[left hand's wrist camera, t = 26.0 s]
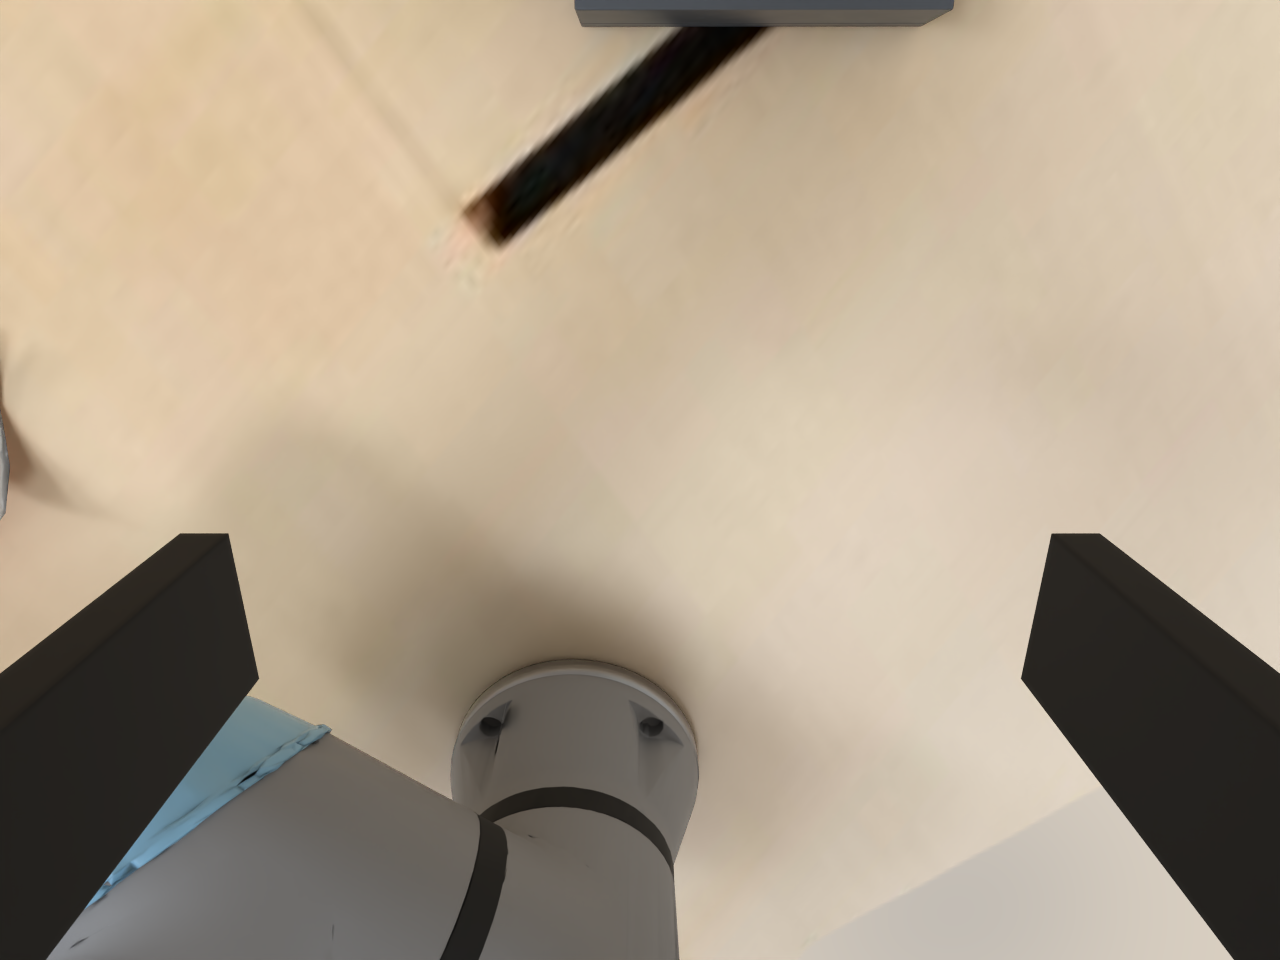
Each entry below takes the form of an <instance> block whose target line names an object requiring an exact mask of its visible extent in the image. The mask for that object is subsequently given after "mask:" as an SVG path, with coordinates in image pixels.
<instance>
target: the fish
mask: <svg viewBox="0 0 1280 960" xmlns="http://www.w3.org/2000/svg"><path fill="white" fill-rule="evenodd" d="M9 470H10V465H9V458H8V452H7V445H6V439H5V433H4V427H3V422H2V416H1V411H0V520H1V518H2V517H3V516H4V514H5V512H6V501H7V491H8V481H9Z"/></svg>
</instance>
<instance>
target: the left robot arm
mask: <svg viewBox="0 0 1280 960" xmlns="http://www.w3.org/2000/svg"><path fill="white" fill-rule="evenodd" d="M258 679H259V676H258V672H257V667H256V662H255V657H254V653H253V648H252V643H251V638H250V634H249V629H248V624H247V620H246V615H245V610H244V605H243V601H242V596H241V591H240V586H239V582H238V577H237V572H236V568H235V563H234V558H233V553H232V549H231V544H230V539H229V534H179V535H178V536H176V537H175V538H174V539H173V540H171V541H170V542H169V543H167V544H166V545H165V546H164V547H162V548H161V549H160V550H158V551H157V552H156V553H155V554H153V555H152V556H151V557H149V558H148V559H147V560H146V561H144V562H143V563H142V564H140V565H139V566H138V567H137V568H135V569H134V570H133V571H131V572H130V573H129V574H128V575H126V576H125V577H124V578H122V579H121V580H120V581H119V582H117V583H116V584H115V585H113V586H112V587H111V588H110V589H108V590H107V591H106V592H104V593H103V594H102V595H101V596H99V597H98V598H97V599H95V600H94V601H93V602H92V603H90V604H89V605H88V606H86V607H85V608H84V609H83V610H81V611H80V612H79V613H77V614H76V615H75V616H74V617H72V618H71V619H70V620H68V621H67V622H66V623H65V624H63V625H62V626H61V627H59V628H58V629H57V630H56V631H54V632H53V633H52V634H50V635H49V636H48V637H47V638H45V639H44V640H43V641H41V642H40V643H39V644H38V645H36V646H35V647H34V648H32V649H31V650H30V651H29V652H27V653H26V654H25V655H23V656H22V657H21V658H20V659H18V660H17V661H16V662H14V663H13V664H12V665H11V666H9V667H8V668H7V669H5V670H4V671H3V672H2V673H0V960H679V947H678V932H677V917H676V901H675V886H674V866H673V865H674V862H675V859H676V856H677V854H678V851H679V848H680V845H681V842H682V839H683V836H684V833H685V831H686V828H687V825H688V822H689V819H690V816H691V813H692V810H693V808H694V804H695V800H696V794H697V788H698V780H699V769H698V758H697V749H696V743H695V739H694V735H693V732H692V730H691V727H690V725H689V723H688V721H687V719H686V717H685V715H684V714H683V712H682V711H681V710H680V708H679V707H678V706H677V704H676V703H675V702H674V701H673V700H672V699H671V698H670V697H669V696H668V695H667V694H666V693H665V692H664V691H663V690H661V689H660V688H659V687H658V686H656V685H655V684H654V683H652V682H650V681H649V680H647V679H646V678H644V677H642V676H640V675H638V674H636V673H634V672H632V671H629V670H627V669H624V668H622V667H618V666H615V665H612V664H608V663H603V662H598V661H590V660H575V659H571V660H556V661H548V662H544V663H539V664H535V665H532V666H528V667H525V668H523V669H520V670H518V671H515V672H513V673H511V674H509V675H507V676H505V677H504V678H502V679H501V680H499V681H497V682H496V683H494V684H493V685H492V686H491V687H489V688H488V689H487V690H486V691H485V692H484V693H483V694H482V695H481V696H480V697H479V698H478V699H477V700H476V701H475V703H474V704H473V705H472V706H471V708H470V710H469V711H468V713H467V714H466V716H465V718H464V720H463V722H462V725H461V728H460V731H459V734H458V737H457V740H456V743H455V746H454V750H453V755H452V762H451V789H452V798H453V800H451V799H449V798H447V797H445V796H443V795H441V794H439V793H437V792H435V791H434V790H432V789H430V788H428V787H426V786H424V785H423V784H421V783H419V782H417V781H415V780H414V779H412V778H410V777H408V776H406V775H404V774H403V773H401V772H399V771H397V770H395V769H393V768H392V767H390V766H388V765H386V764H384V763H382V762H381V761H379V760H377V759H375V758H373V757H371V756H370V755H368V754H366V753H364V752H362V751H360V750H359V749H357V748H355V747H353V746H351V745H350V744H348V743H346V742H344V741H342V740H340V739H339V738H337V737H335V736H333V735H331V734H329V733H330V732H331V730H332V729H330V728H329V727H328V726H326V725H324V724H322V725H316V726H315V725H313V724H310V723H308V722H306V721H304V720H302V719H300V718H298V717H295V716H293V715H291V714H289V713H287V712H285V711H283V710H280V709H278V708H276V707H274V706H272V705H270V704H268V703H265V702H263V701H261V700H259V699H256V698H253V697H250V696H246V695H247V694H248V693H249V691H250V690H251V689H252V687H253V686H254V685H255V683H256V682H257V681H258ZM1021 679H1022V681H1023V682H1024V683H1025V685H1026V686H1027V687H1028V689H1029V690H1030V691H1031V693H1032V694H1033V695H1034V696H1035V698H1036V699H1037V700H1038V702H1039V703H1040V704H1041V706H1042V707H1043V708H1044V710H1045V711H1046V712H1047V714H1048V715H1049V716H1050V718H1051V719H1052V720H1053V722H1054V723H1055V724H1056V726H1057V727H1058V728H1059V729H1060V731H1061V732H1062V733H1063V735H1064V736H1065V737H1066V739H1067V740H1068V741H1069V743H1070V744H1071V745H1072V747H1073V748H1074V749H1075V751H1076V752H1077V753H1078V755H1079V756H1080V757H1081V759H1082V760H1083V761H1084V762H1085V764H1086V765H1087V766H1088V768H1089V769H1090V770H1091V772H1092V773H1093V774H1094V776H1095V777H1096V778H1097V780H1098V781H1099V782H1100V784H1101V785H1102V786H1103V788H1104V789H1105V790H1106V791H1107V793H1108V794H1109V795H1110V797H1111V798H1112V799H1113V801H1114V802H1115V803H1116V805H1117V806H1118V807H1119V809H1120V810H1121V811H1122V812H1123V814H1124V815H1125V817H1126V818H1127V819H1128V820H1129V822H1130V823H1131V824H1132V826H1133V827H1134V828H1135V830H1136V831H1137V832H1138V834H1139V835H1140V836H1141V838H1142V839H1143V840H1144V842H1145V843H1146V844H1147V846H1148V847H1149V848H1150V849H1151V851H1152V852H1153V854H1154V855H1155V856H1156V857H1157V859H1158V860H1159V861H1160V863H1161V864H1162V865H1163V867H1164V868H1165V869H1166V871H1167V872H1168V873H1169V874H1170V876H1171V877H1172V879H1173V880H1174V881H1175V882H1176V884H1177V885H1178V886H1179V888H1180V889H1181V890H1182V892H1183V893H1184V894H1185V896H1186V897H1187V898H1188V900H1189V901H1190V902H1191V904H1192V905H1193V906H1194V908H1195V909H1196V910H1197V912H1198V913H1199V914H1200V915H1201V917H1202V918H1203V919H1204V921H1205V922H1206V923H1207V925H1208V926H1209V927H1210V929H1211V930H1212V931H1213V933H1214V934H1215V935H1216V937H1217V938H1218V939H1219V941H1220V942H1221V943H1222V945H1223V946H1224V947H1225V948H1226V950H1227V951H1228V952H1229V954H1230V955H1231V956H1232V958H1233V959H1234V960H1280V673H1278V672H1277V671H1276V670H1275V669H1273V668H1272V667H1271V666H1269V665H1268V664H1267V663H1266V662H1264V661H1263V660H1262V659H1260V658H1259V657H1258V656H1257V655H1255V654H1254V653H1253V652H1251V651H1250V650H1249V649H1248V648H1246V647H1245V646H1244V645H1242V644H1241V643H1240V642H1239V641H1237V640H1236V639H1235V638H1233V637H1232V636H1231V635H1230V634H1228V633H1227V632H1226V631H1224V630H1223V629H1222V628H1221V627H1219V626H1218V625H1217V624H1215V623H1214V622H1213V621H1212V620H1210V619H1209V618H1208V617H1206V616H1205V615H1204V614H1203V613H1201V612H1200V611H1199V610H1197V609H1196V608H1195V607H1194V606H1192V605H1191V604H1190V603H1188V602H1187V601H1186V600H1185V599H1183V598H1182V597H1181V596H1179V595H1178V594H1177V593H1176V592H1174V591H1173V590H1172V589H1170V588H1169V587H1168V586H1167V585H1165V584H1164V583H1163V582H1161V581H1160V580H1159V579H1158V578H1156V577H1155V576H1154V575H1152V574H1151V573H1150V572H1149V571H1147V570H1146V569H1145V568H1143V567H1142V566H1141V565H1140V564H1138V563H1137V562H1136V561H1134V560H1133V559H1132V558H1131V557H1129V556H1128V555H1127V554H1125V553H1124V552H1123V551H1122V550H1120V549H1119V548H1118V547H1116V546H1115V545H1114V544H1113V543H1111V542H1110V541H1109V540H1107V539H1106V538H1105V537H1104V536H1102V535H1101V534H1051V539H1050V544H1049V549H1048V553H1047V558H1046V563H1045V568H1044V572H1043V577H1042V582H1041V586H1040V591H1039V596H1038V601H1037V605H1036V610H1035V615H1034V620H1033V624H1032V629H1031V634H1030V638H1029V643H1028V648H1027V653H1026V657H1025V662H1024V667H1023V672H1022V676H1021Z"/></svg>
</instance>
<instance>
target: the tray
mask: <svg viewBox="0 0 1280 960" xmlns="http://www.w3.org/2000/svg"><path fill="white" fill-rule="evenodd" d="M953 5H954V0H575V10H576V13H577V15H578V18H579V20H580V23H581V26H582V27H731V26H922V25H924V24H926V23H928V22H930V21H932V20H933V19H935V18H937V17H939V16H941V15H943V14H945V13H947V12H948V11H950V10H952V9H953Z"/></svg>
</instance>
